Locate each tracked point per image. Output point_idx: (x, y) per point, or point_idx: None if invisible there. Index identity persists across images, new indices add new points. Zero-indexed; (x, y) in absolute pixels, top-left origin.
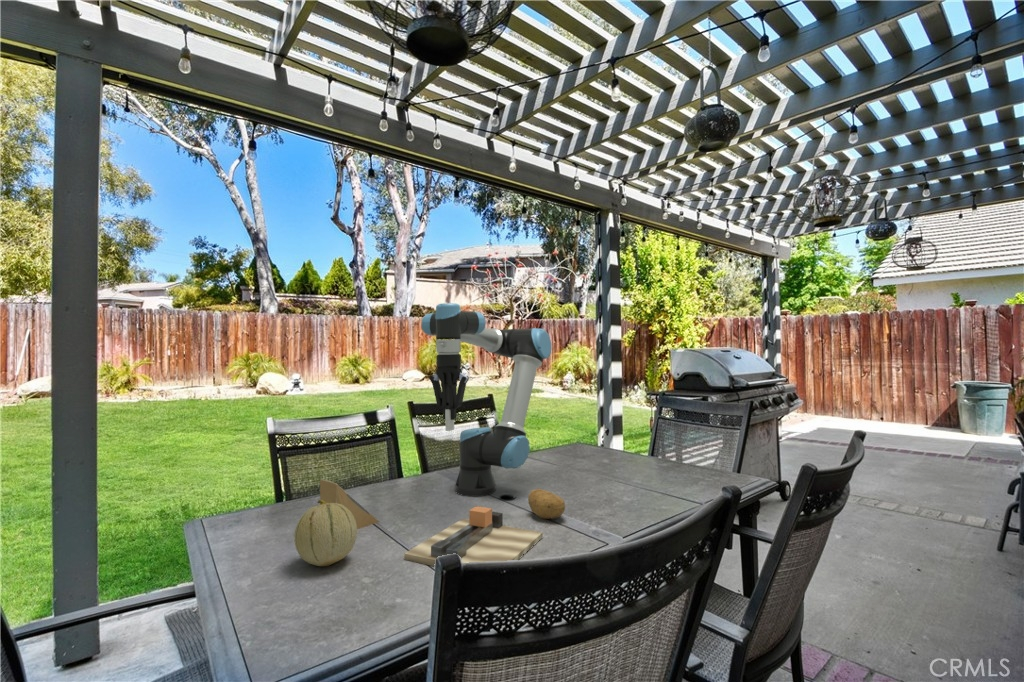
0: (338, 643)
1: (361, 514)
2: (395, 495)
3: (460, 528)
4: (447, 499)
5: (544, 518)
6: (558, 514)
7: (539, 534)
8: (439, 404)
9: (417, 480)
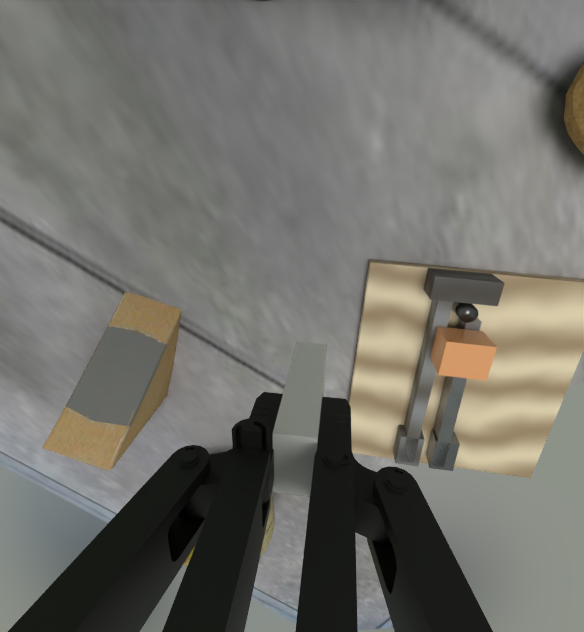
0: (384, 599)
1: (162, 364)
2: (61, 106)
3: (392, 323)
4: (227, 71)
5: None
6: None
7: None
8: (204, 521)
9: None
